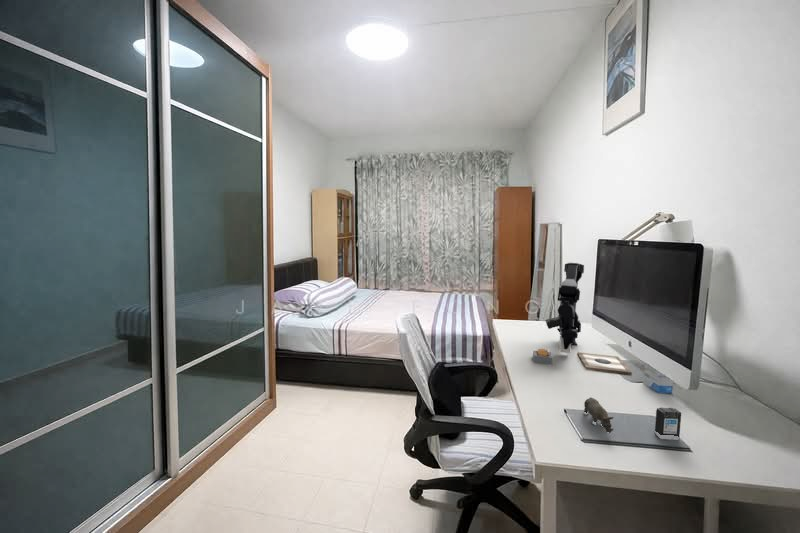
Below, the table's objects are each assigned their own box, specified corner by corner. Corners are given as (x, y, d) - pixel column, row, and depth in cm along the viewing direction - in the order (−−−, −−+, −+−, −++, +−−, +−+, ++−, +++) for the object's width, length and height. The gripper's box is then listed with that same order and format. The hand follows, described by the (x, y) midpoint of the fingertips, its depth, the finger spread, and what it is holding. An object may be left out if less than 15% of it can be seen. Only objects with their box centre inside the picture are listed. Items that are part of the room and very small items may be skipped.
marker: (559, 348, 157) (560, 333, 156) (568, 349, 156) (569, 334, 155) (560, 351, 153) (561, 335, 152) (570, 352, 152) (571, 336, 151)
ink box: (673, 393, 120) (676, 360, 118) (658, 393, 120) (662, 360, 118) (655, 382, 128) (658, 351, 127) (642, 382, 128) (644, 351, 127)
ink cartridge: (660, 440, 93) (662, 411, 92) (654, 435, 95) (656, 407, 94) (679, 440, 92) (681, 412, 92) (673, 435, 95) (675, 407, 94)
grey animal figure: (603, 439, 93) (604, 418, 92) (580, 412, 106) (581, 393, 106) (619, 440, 92) (621, 418, 92) (594, 413, 106) (595, 394, 105)
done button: (536, 355, 150) (537, 348, 150) (546, 356, 149) (547, 349, 149) (537, 358, 147) (538, 351, 146) (547, 359, 145) (548, 352, 145)
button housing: (532, 356, 152) (533, 350, 152) (550, 358, 150) (550, 352, 150) (533, 362, 146) (534, 355, 146) (552, 364, 144) (552, 357, 143)
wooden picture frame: (577, 354, 157) (577, 351, 157) (617, 358, 152) (618, 356, 152) (585, 369, 140) (586, 366, 139) (631, 374, 135) (631, 372, 135)
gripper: (545, 307, 164) (543, 339, 165) (549, 316, 146) (547, 352, 148) (571, 309, 161) (568, 341, 162) (579, 318, 143) (576, 355, 144)
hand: (564, 347), depth 154 cm, fingers closed on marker, 4 cm apart
